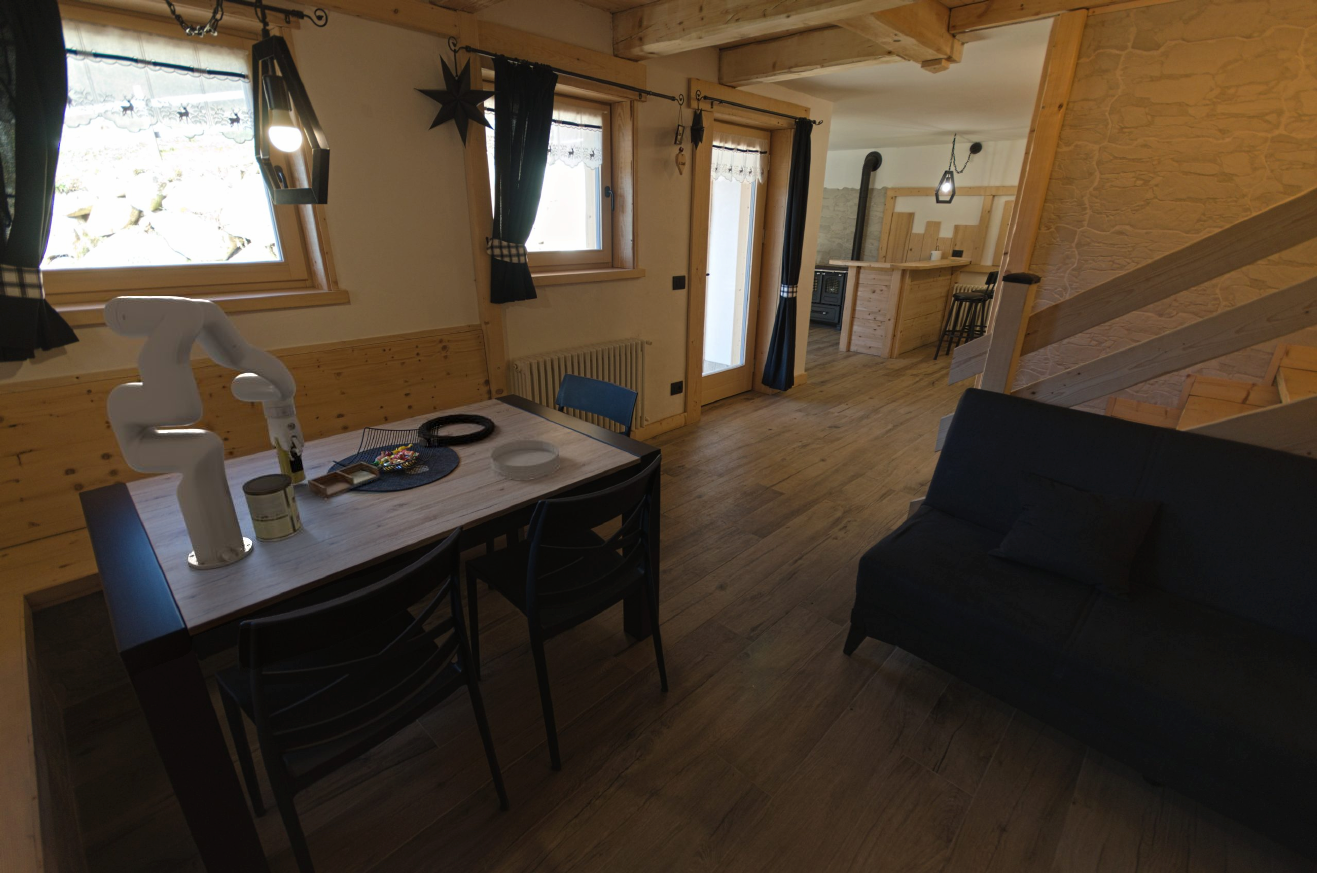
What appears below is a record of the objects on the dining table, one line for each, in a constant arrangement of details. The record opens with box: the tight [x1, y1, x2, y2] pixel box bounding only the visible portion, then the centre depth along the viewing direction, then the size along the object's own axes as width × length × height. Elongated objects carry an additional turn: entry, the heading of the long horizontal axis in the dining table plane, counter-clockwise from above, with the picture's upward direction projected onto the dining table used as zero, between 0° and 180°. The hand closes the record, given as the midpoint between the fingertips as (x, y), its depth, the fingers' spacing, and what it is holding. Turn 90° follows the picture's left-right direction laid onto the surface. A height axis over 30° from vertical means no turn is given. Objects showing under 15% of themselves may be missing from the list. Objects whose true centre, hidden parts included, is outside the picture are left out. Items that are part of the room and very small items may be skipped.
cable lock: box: [416, 413, 496, 447], centre depth 215 cm, size 28×4×30 cm
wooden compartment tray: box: [307, 461, 380, 499], centre depth 173 cm, size 8×17×4 cm, turn 148°
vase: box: [274, 437, 307, 485], centre depth 170 cm, size 6×6×14 cm
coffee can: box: [242, 473, 303, 543], centre depth 146 cm, size 10×10×14 cm
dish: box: [490, 439, 561, 480], centre depth 189 cm, size 22×22×5 cm
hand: (291, 468), depth 171 cm, fingers closed on vase, 5 cm apart
